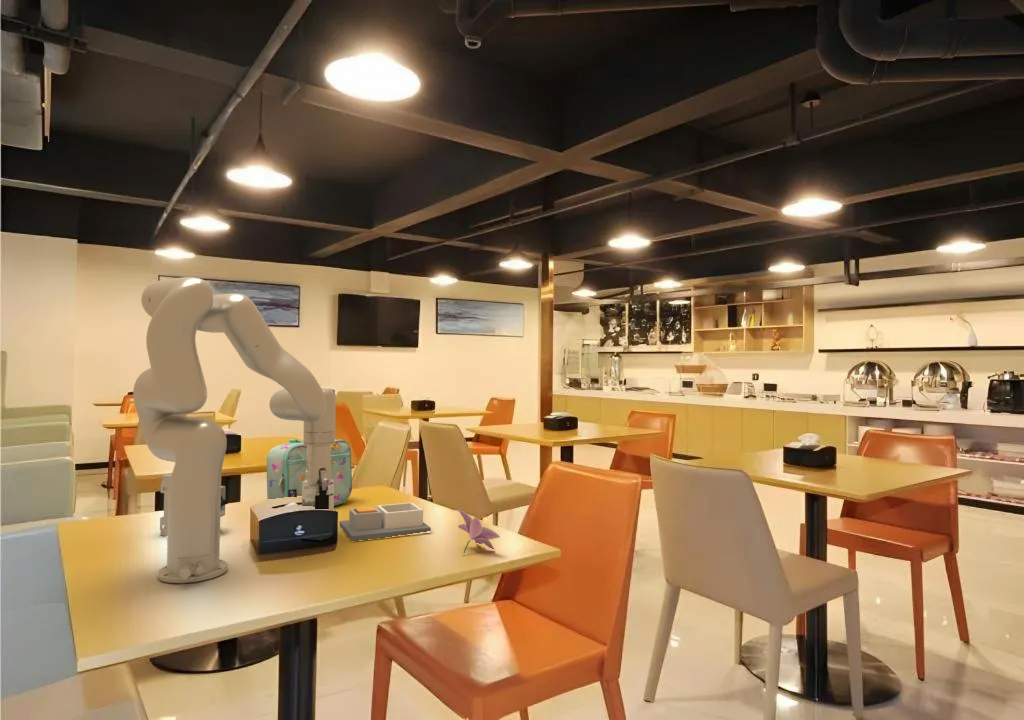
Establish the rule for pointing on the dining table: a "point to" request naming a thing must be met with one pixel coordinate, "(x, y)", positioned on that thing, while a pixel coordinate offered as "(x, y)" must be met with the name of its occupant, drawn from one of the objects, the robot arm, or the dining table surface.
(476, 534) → the lily
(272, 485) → the lunch box
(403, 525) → the grey compartment tray
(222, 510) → the circuit breaker
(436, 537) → the dining table surface
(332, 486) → the syrup box
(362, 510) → the button
